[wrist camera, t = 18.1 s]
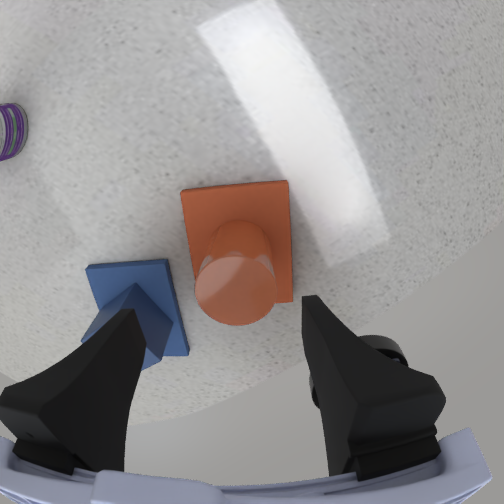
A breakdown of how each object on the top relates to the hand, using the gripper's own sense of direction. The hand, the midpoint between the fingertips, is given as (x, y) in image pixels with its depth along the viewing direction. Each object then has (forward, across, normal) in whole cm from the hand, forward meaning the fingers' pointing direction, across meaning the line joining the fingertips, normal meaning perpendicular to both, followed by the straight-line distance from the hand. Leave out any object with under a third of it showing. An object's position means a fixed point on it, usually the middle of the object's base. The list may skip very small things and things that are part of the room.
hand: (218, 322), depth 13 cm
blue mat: (+10, +8, +6) cm, 14 cm away
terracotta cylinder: (+9, -1, +1) cm, 9 cm away
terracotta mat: (+10, -1, +1) cm, 10 cm away
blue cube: (+9, +8, +6) cm, 14 cm away
